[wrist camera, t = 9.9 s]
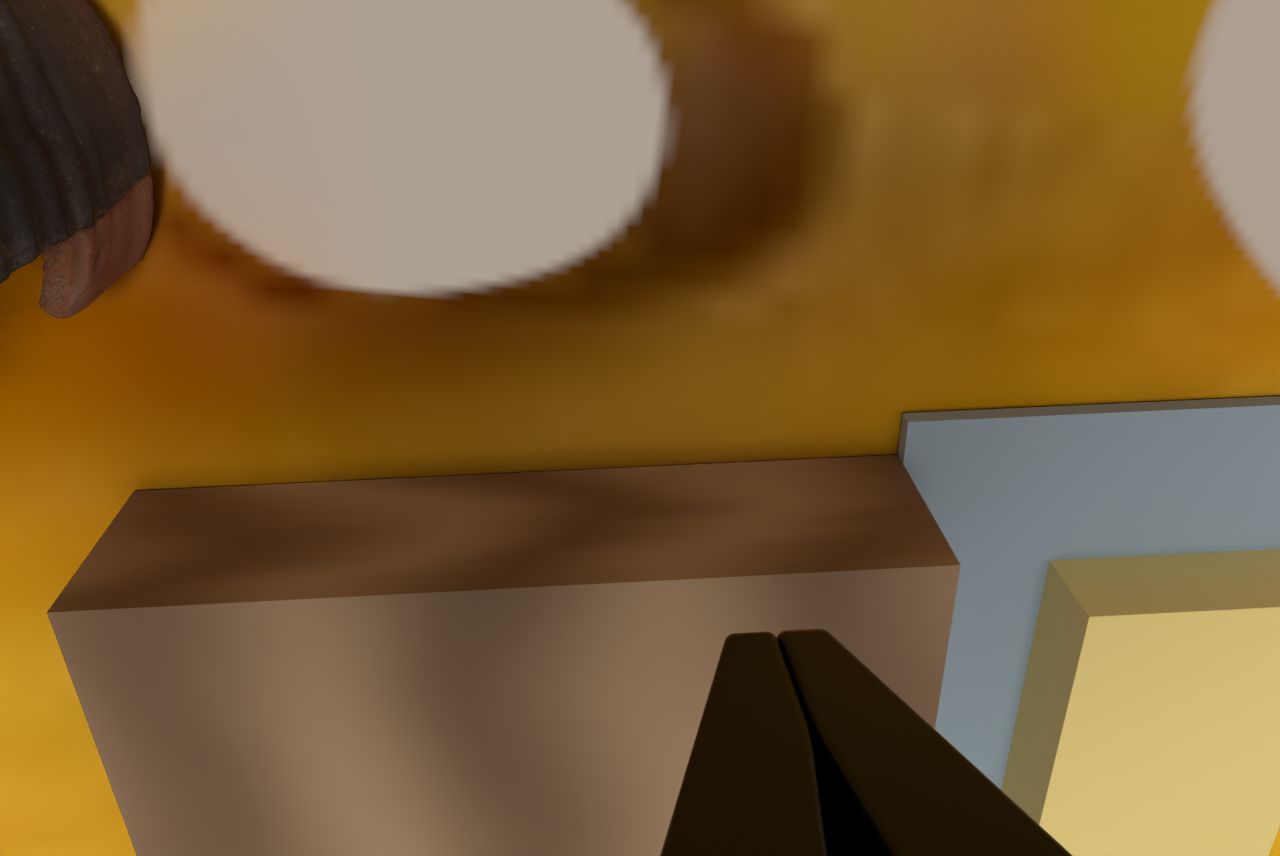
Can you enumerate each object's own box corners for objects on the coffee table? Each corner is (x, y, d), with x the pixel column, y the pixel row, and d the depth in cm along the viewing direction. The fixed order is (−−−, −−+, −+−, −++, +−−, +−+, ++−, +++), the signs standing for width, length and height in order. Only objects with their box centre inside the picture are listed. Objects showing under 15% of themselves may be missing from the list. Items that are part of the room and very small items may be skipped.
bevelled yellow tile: (1089, 616, 21) (1049, 560, 23) (1019, 904, 25) (991, 838, 27) (1369, 602, 21) (1309, 547, 23) (1254, 889, 26) (1210, 824, 27)
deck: (897, 454, 22) (960, 565, 18) (847, 891, 28) (886, 1034, 25) (134, 490, 21) (47, 612, 18) (265, 930, 28) (220, 1081, 24)
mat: (1365, 391, 22) (1378, 400, 21) (1189, 892, 29) (1197, 904, 29) (902, 412, 21) (908, 422, 21) (845, 915, 29) (848, 927, 29)
